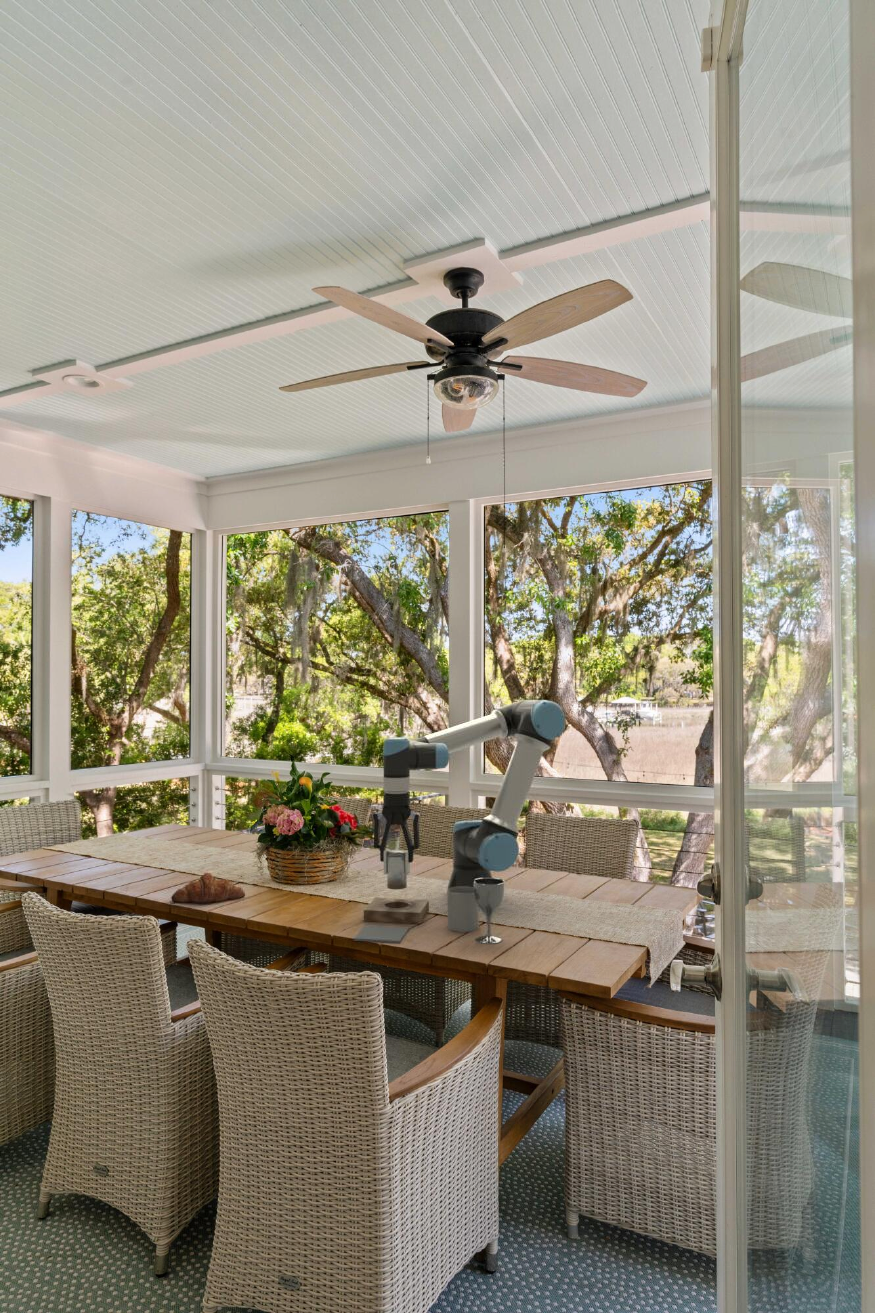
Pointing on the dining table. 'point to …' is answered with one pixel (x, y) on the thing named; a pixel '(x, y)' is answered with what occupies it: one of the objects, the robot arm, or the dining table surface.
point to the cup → (462, 909)
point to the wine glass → (489, 903)
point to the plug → (396, 869)
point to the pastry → (207, 891)
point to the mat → (381, 934)
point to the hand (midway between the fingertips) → (396, 873)
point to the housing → (396, 910)
